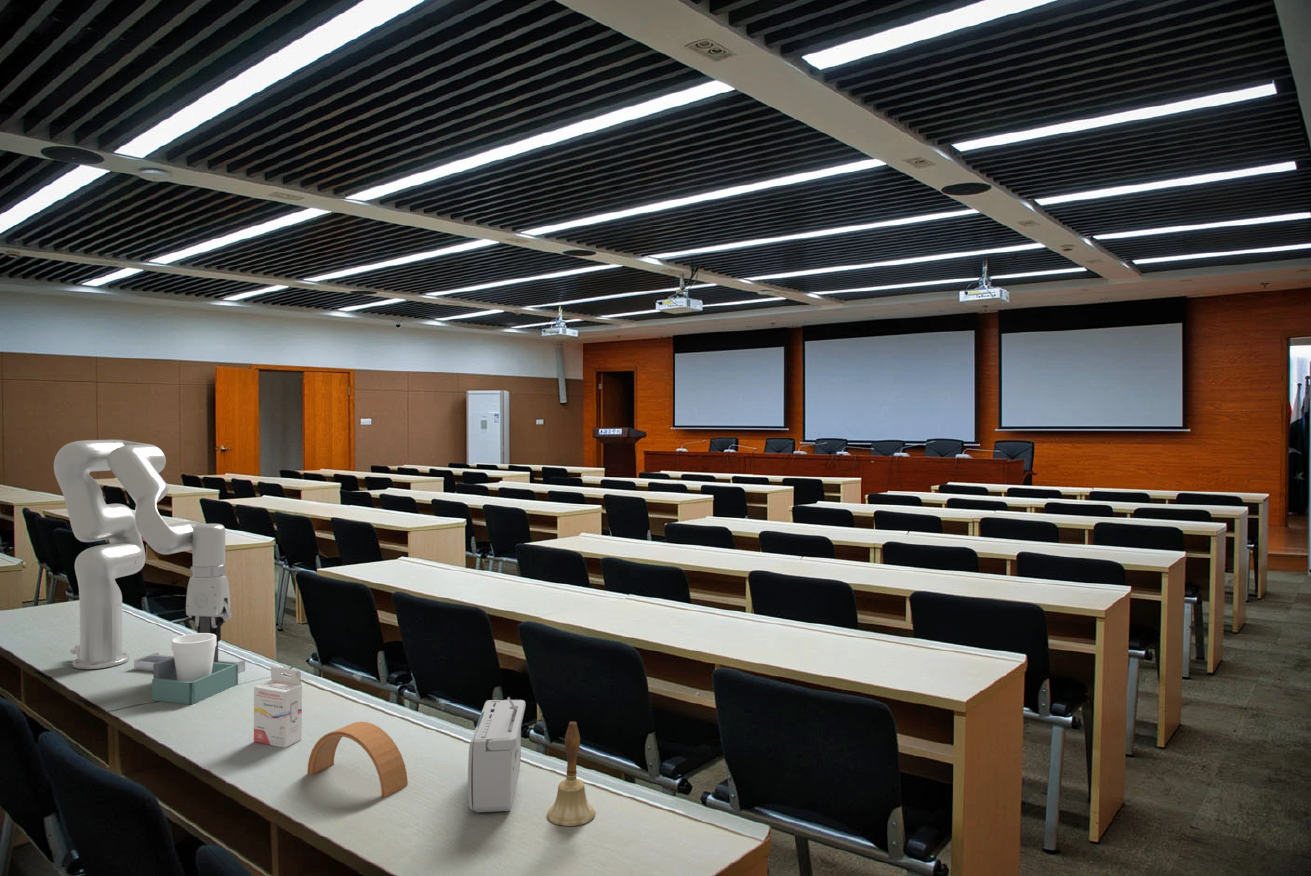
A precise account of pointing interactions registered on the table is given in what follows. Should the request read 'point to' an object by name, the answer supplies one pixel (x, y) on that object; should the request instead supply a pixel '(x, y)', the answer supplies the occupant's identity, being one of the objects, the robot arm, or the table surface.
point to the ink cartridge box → (278, 709)
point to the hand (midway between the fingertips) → (209, 640)
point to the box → (196, 685)
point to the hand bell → (571, 789)
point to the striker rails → (149, 660)
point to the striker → (167, 666)
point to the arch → (373, 743)
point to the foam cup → (193, 655)
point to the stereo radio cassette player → (495, 756)
